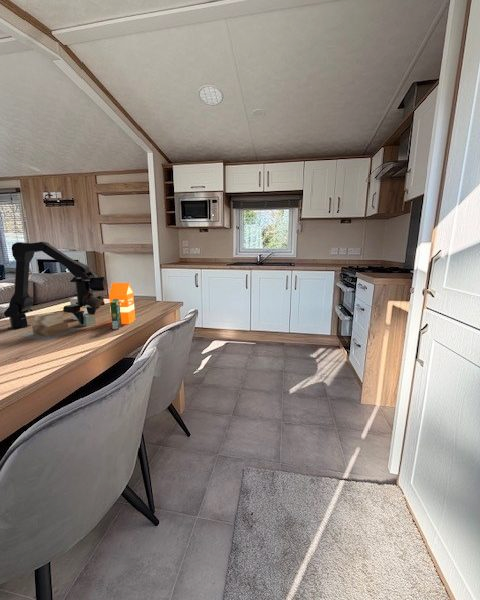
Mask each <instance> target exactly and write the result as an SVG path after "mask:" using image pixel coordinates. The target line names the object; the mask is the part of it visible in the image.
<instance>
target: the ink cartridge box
mask: <svg viewBox="0 0 480 600" xmlns="http://www.w3.org/2000/svg"><path fill="white" fill-rule="evenodd" d="M75 294H77V292H76V293H75ZM69 302H70V304H69V305H76V302H78V300H77V296H74V297H69ZM82 311H84V313H83V314H88V312H87V308H86V307H85V308H82ZM71 318H72V320H74V321H78V319H77V318H76V316H75V315H74V314H73V313H71Z"/></svg>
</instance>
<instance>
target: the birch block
mask: <svg viewBox="0 0 480 600" xmlns="http://www.w3.org/2000/svg"><path fill="white" fill-rule="evenodd" d="M34 319H35V325H39V326H48V327H49V326H52V325H56V324H59V323H63V322H65V321H64V315H63V313H62V312H51V311H50V312H47V313H43V314H42V313H41V314H39V315H35V316H34Z"/></svg>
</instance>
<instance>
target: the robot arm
mask: <svg viewBox="0 0 480 600" xmlns="http://www.w3.org/2000/svg"><path fill="white" fill-rule="evenodd" d="M37 252H43V253H44V254H45V255H48V256H49V257H51V259H54V260H55V261H57V262H58V263H60V264H61V265H63V266H64V267H65V268H66V269H67V271H68V272H69V273H70V274H71V275H73V277H72V279H71V280H70V281H69V282H70V283H74V284H75V289H76V290H75V291H76V293H77V294H76V293H74V297H77V300H78V302H76V305H71V304H68V305H64V306H63V308H62V311H63V313H67V314H68V313H69V314H72V313H73V314H74V315H75V316H76V318H77V319H78V320H77V322H78V321H79V322H80V323H81V324H82V325H83V324H84V320H83V313H84V311H82V308H85V307H86V308H87V312H88V314H94V315H96V312H97V311H98V310H99V309H100V308H101V307H103V306H106V304H105V303H106V302H105V299H104V296H102V295H97V296H94V293H93V292H106V291H107V290H108V285H109V284H108V281H107V279H106V277H105V276H95V274H94V273H93V272H92V271H91V269H90V267H89V266H88V265H87V264H84V263H83V262H81V261H77V260H75V259H73V258H71V257H70V256H67V254H65V253H64V252H62V251H61V250H59V249H58V248H57V247H54V246H53V245H51V244H50V243H49V242H47V241H39V242H24V241H23V242H20V241H18V242H14V243H13V244H12V245H11V253H12V257H13V259H14V260H15V274H14V275H15V277H14V278H15V279H14V292H13V294H12V296H11V297H10V301H9V304H8V307H7V308H6V309H5V311H3V315H4V317H5V318H9V323H10V326H9V327H7V328H6V329H8V330H20V329H24V328H27V327H32V325H31V324H28V320H27V313H29V311H30V309H31V308H32V306H33V305H34V297H33V296H30V294H29V283H30V281H29V280H30V279H29V277H30V263H31V262H32V261H33V258H34V256H35V253H37ZM91 291H92V292H91Z"/></svg>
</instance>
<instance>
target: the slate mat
mask: <svg viewBox="0 0 480 600" xmlns="http://www.w3.org/2000/svg"><path fill="white" fill-rule="evenodd" d="M80 330H81V328H75V327H68V331H65V332H62V333H59V334H56V335H53V336H49V337H48V336H40V335H33V331H32V332H28V333H26V334H21V335H19V337H21V338H29V339H34V340H42V341H49V340H52V339H55V338H58V337H61V336H64V335H67V334H71V333H74V332H76V331H80Z"/></svg>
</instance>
